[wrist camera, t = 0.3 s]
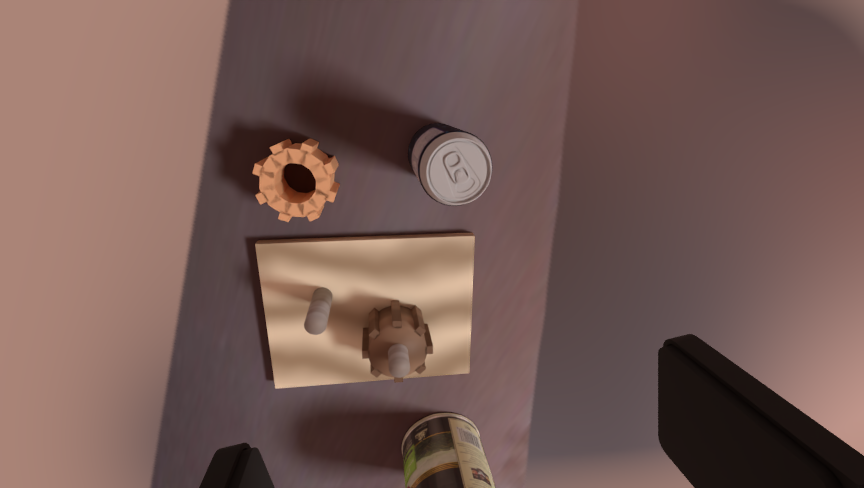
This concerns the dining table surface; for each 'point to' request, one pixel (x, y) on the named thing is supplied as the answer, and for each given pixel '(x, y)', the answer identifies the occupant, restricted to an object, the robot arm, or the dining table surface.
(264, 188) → the loose gear
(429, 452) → the coffee can
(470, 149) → the beverage can
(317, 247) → the gear board
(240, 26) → the dining table surface
